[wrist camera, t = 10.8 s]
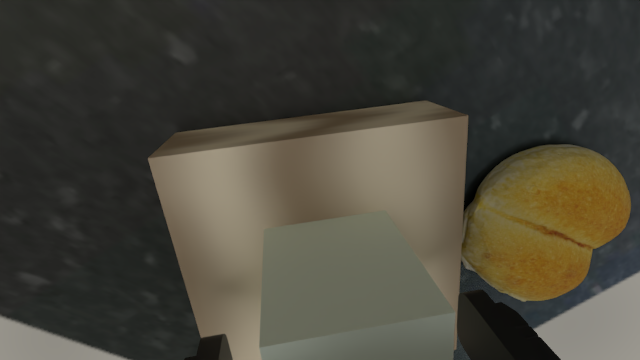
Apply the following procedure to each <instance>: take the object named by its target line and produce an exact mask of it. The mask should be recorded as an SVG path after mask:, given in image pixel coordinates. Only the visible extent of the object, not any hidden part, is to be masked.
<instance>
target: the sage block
mask: <svg viewBox="0 0 640 360" xmlns="http://www.w3.org/2000/svg"><path fill="white" fill-rule="evenodd" d="M454 329H455V311H454V310H453V308H452V307H451V305H450V304H449V302H448V301H447V299H446V298H445V297H444V295H443V294H442V292H441V291H440V289H439V288H438V286H437V285H436V283H435V282H434V281H433V279H432V278H431V276H430V275H429V273H428V272H427V270H426V269H425V267H424V266H423V265H422V263H421V262H420V260H419V259H418V257H417V256H416V254H415V253H414V251H413V250H412V248H411V247H410V246H409V244H408V243H407V241H406V240H405V238H404V237H403V235H402V234H401V232H400V231H399V230H398V228H397V227H396V225H395V224H394V222H393V221H392V219H391V218H390V216H389V215H388V214H387V212H386V211H385V210H383V211H377V212H371V213H364V214H358V215H351V216H345V217H338V218H332V219H325V220H319V221H312V222H306V223H299V224H293V225H286V226H280V227H273V228H267V229H264V244H263V268H262V292H261V316H260V341H259V349H260V354H261V358H262V360H453V350H454Z"/></svg>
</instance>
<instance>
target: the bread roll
mask: <svg viewBox="0 0 640 360" xmlns="http://www.w3.org/2000/svg"><path fill="white" fill-rule="evenodd" d="M630 209H631V200H630V195H629V191H628V189H627V186H626V183H625V181H624V179H623V177H622V175H621V174H620V172H619V171H618V170H617V169H616V167H615V166H614V165H613V164H612V163H611V162H610V161H609V160H608V159H606V158H605V157H603V156H602V155H600V154H599V153H597V152H594V151H592V150H590V149H587V148H583V147H580V146H575V145H570V144H560V145H543V146H537V147H534V148H530V149H527V150H524V151H521V152H519V153H517V154H514V155H512V156H510V157H509V158H507V159H505V160H503V161H502V162H501V163H500V164H498V165H497V166H496V167H495V168H494V169H493V170H492V171H491V172H490V173H489V174H488V175H487V176H486V177H485V178H484V180H483V181H482V182H481V184H480V185H479V187H478V189H477V191H476V195H475V198H474V200H473V201H472V202H471V203H470V204H469V205H468V206H467V208H466V209H465V211H464V212H463V229H462V248H461V261H462V262H463V264H464V266H465V268H466V269H469V270H472V271H474V272H476V273H477V274H478V275H479V276H480V277H481V278H482V279H484V280H485V281H486V282H487V283H488V284H489V285H491V286H492V287H494V288H496V289H497V290H498V291H500V292H502V293H507V294H508V295H509V296H512V297H514V298H517V299H519V300H521V301H526V300H531V301H541V300H547V299H552V298H556V297H558V296H560V295H562V294H565V293H567V292H569V291H570V290H572V289H574V288H575V287H577V286H578V285H579V284H580V283H581V282H582V281H583V279H584V278H585V277H586V275H587V273H588V270H589V267H590V261H591V256H592V251H593V249H595V248H598V247H600V246H602V245H604V244H605V243H607V242H609V241H610V240H612V239H613V238H615V237H616V236H617V235H618V234H620V233H621V231H622V230H623V229H624V228H625V226H626V223H627V221H628V219H629V216H630Z"/></svg>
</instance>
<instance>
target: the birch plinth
mask: <svg viewBox="0 0 640 360" xmlns="http://www.w3.org/2000/svg"><path fill="white" fill-rule="evenodd" d="M467 133H468V115H465V114H462V113H460V112H457V111H454V110H451V109H449V108H446V107H443V106H440V105H437V104H435V103H432V102H429V101H418V102H410V103H402V104H395V105H387V106H379V107H371V108H364V109H356V110H348V111H340V112H332V113H325V114H317V115H309V116H301V117H293V118H286V119H278V120H270V121H262V122H254V123H247V124H239V125H231V126H223V127H216V128H208V129H200V130H192V131H184V132H177V133H175V134H174V135H173V136H172V137H170V138H169V139H168V140H167V141H166V142H165V143H164V144H163V145H162V146H161V147H160V148H158V149H157V150H156V151H155V152H154V153H153V154H152V155H151V156H150V157H149V158H148V161H149V165H150V168H151V171H152V175H153V178H154V181H155V185H156V188H157V192H158V195H159V198H160V202H161V205H162V208H163V212H164V215H165V218H166V222H167V225H168V228H169V232H170V235H171V239H172V242H173V245H174V249H175V252H176V255H177V259H178V262H179V265H180V269H181V272H182V275H183V279H184V282H185V285H186V289H187V292H188V296H189V299H190V302H191V306H192V309H193V312H194V316H195V319H196V322H197V326H198V329H199V332H200V336H201V338H202V337H208V336H213V335H219V334H226V336H227V339H228V343H229V347H230V351H231V354H232V358H233V360H262V358H261V354H260V349H259V341H260V316H261V292H262V268H263V244H264V229H267V228H273V227H280V226H286V225H293V224H299V223H306V222H312V221H319V220H325V219H332V218H338V217H345V216H351V215H358V214H364V213H371V212H377V211H383V210H385V211H386V212H387V214H388V215H389V216H390V218H391V219H392V221H393V222H394V224H395V225H396V227H397V228H398V230H399V231H400V232H401V234H402V235H403V237H404V238H405V240H406V241H407V243H408V244H409V246H410V247H411V248H412V250H413V251H414V253H415V254H416V256H417V257H418V259H419V260H420V262H421V263H422V265H423V266H424V267H425V269H426V270H427V272H428V273H429V275H430V276H431V278H432V279H433V281H434V282H435V283H436V285H437V286H438V288H439V289H440V291H441V292H442V294H443V295H444V297H445V298H446V299H447V301H448V302H449V304H450V305H451V307H452V308H453V310H454V311H455V329H454V350H456V343H457V310H458V296H459V286H460V267H461V248H462V229H463V209H464V190H465V171H466V152H467Z"/></svg>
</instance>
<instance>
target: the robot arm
mask: <svg viewBox="0 0 640 360" xmlns="http://www.w3.org/2000/svg"><path fill="white" fill-rule="evenodd" d="M457 333H458V337H459V340H460V342H461V344H462V346H463V348H464V350H465V351H466V353H467V354H468V356H469V357H470V359H471V360H561V359H560V358H559V357H558V356H557V355H556V354H555V353H554V352H553V351H552V350H551V349H550V347H549V346H548V345H547V344H546V343H545V342H544V341H543V340H542V339H541V338H540V337H538V335H537V333H536V332H535V331H534V330H533V329H532V328H531V327H529V325H528V323H527V322H526V321H525V320H524V319H523V318H522V317H521V316H520V315H519V314H518V312H516V311H515V310H513V309H512V308H510V307H508V306H507V305H505V304H503V303H502V302H500V303H494V302H493V300H492V299H491V298H490V297H489V296H488V295H487V293H486V292H485V291H483V290H475V291H469V292H464V293H460V294H459V296H458V310H457ZM184 360H233V358H232V354H231V351H230V347H229V343H228V339H227V336H226V334H219V335H213V336H208V337H202V338H201V340H200V343H199V347H198V351H197V356H193V357H188V358H185V359H184Z"/></svg>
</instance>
